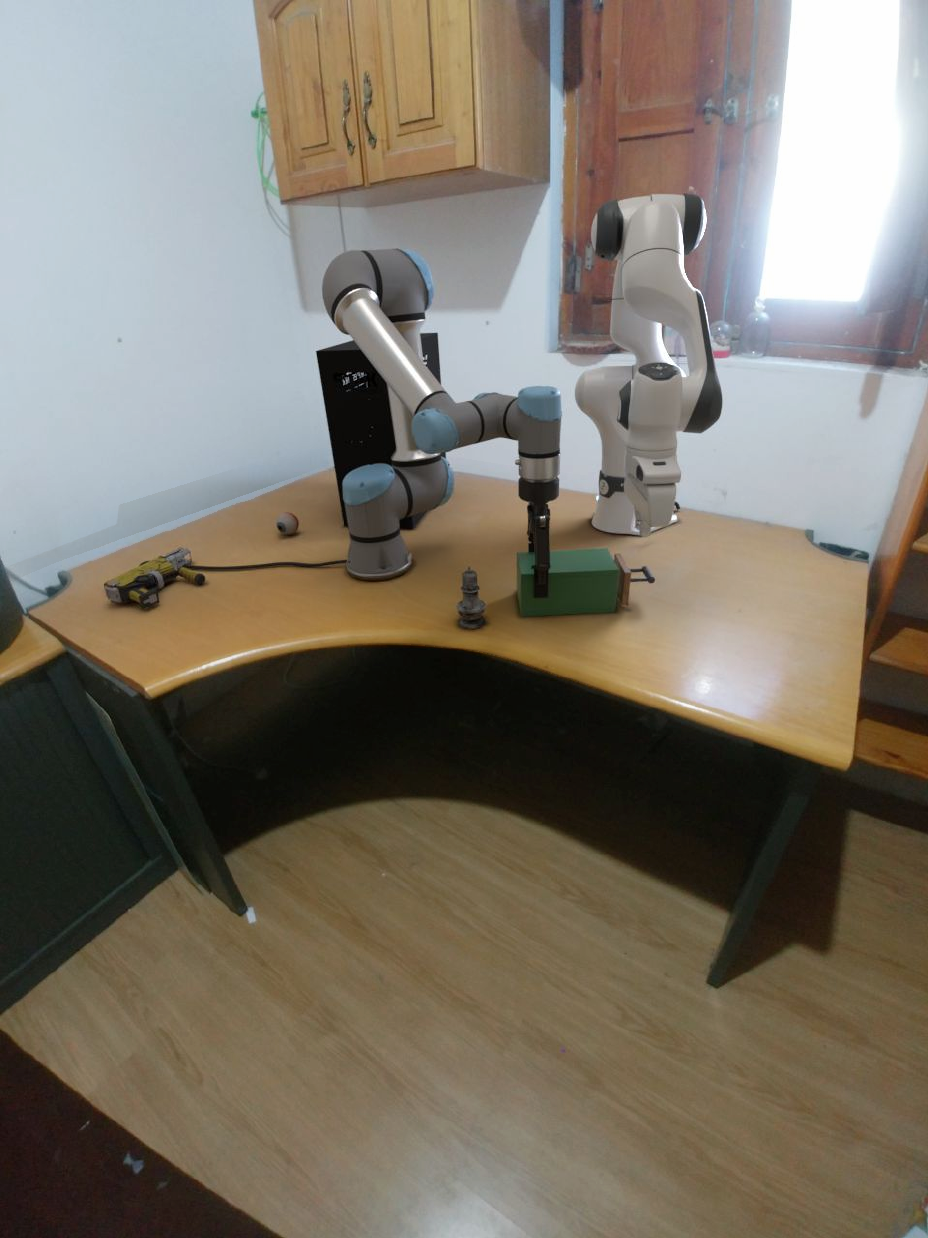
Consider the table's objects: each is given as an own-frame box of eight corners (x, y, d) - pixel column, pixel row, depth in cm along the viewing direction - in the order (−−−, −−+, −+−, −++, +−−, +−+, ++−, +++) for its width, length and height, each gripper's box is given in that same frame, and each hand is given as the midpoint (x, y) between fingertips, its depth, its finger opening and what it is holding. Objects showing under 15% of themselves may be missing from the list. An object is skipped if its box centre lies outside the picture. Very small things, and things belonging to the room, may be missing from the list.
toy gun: (228, 555, 146) (178, 544, 150) (153, 596, 126) (97, 583, 130) (231, 573, 149) (181, 562, 153) (157, 616, 129) (102, 602, 132)
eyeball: (273, 537, 164) (268, 516, 161) (287, 528, 169) (282, 508, 166) (291, 539, 161) (286, 518, 158) (305, 530, 166) (301, 510, 163)
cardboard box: (413, 528, 164) (395, 348, 141) (344, 526, 168) (315, 350, 146) (447, 485, 195) (437, 332, 173) (388, 484, 200) (371, 334, 177)
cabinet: (604, 588, 128) (607, 547, 124) (615, 612, 119) (618, 569, 115) (516, 592, 129) (516, 552, 124) (521, 616, 120) (520, 574, 115)
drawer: (643, 583, 127) (646, 551, 124) (655, 604, 119) (659, 571, 116) (535, 588, 128) (536, 557, 124) (540, 609, 120) (541, 576, 116)
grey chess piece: (484, 630, 116) (481, 573, 110) (454, 628, 117) (450, 572, 111) (489, 614, 121) (487, 560, 115) (460, 613, 122) (457, 559, 116)
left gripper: (513, 460, 121) (514, 561, 132) (524, 497, 101) (524, 612, 112) (551, 458, 121) (549, 559, 132) (568, 495, 101) (564, 610, 112)
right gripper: (619, 447, 119) (614, 513, 126) (647, 478, 101) (639, 553, 108) (651, 445, 118) (644, 512, 125) (684, 476, 101) (674, 552, 108)
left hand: (537, 584), depth 122 cm, fingers closed on cabinet, 10 cm apart
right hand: (642, 531), depth 116 cm, fingers closed
